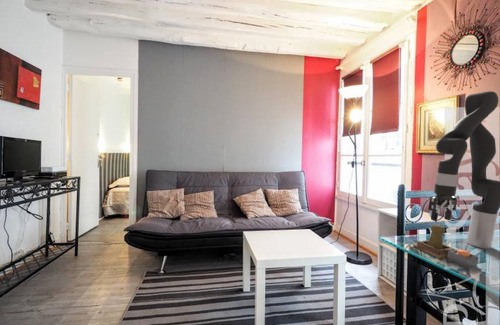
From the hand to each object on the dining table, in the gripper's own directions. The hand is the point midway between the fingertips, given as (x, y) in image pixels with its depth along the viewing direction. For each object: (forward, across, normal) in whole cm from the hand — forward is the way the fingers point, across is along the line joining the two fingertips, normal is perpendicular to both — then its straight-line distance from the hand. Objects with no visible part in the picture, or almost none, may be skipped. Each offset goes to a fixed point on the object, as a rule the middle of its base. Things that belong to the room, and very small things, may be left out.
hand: (440, 220), depth 116 cm
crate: (+14, 0, 0) cm, 15 cm away
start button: (+13, 0, +11) cm, 17 cm away
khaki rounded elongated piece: (+14, +1, 0) cm, 14 cm away
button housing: (+15, 0, +11) cm, 18 cm away
